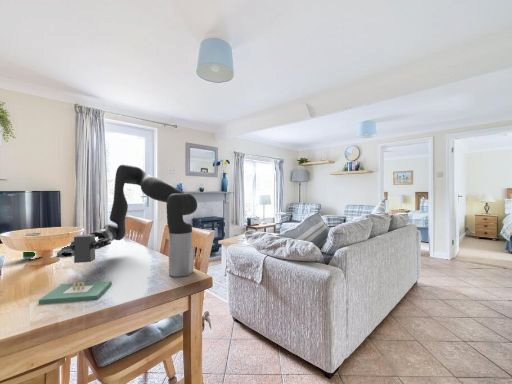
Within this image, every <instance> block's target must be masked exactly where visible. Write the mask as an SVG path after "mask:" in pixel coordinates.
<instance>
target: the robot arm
mask: <svg viewBox="0 0 512 384" xmlns="http://www.w3.org/2000/svg"><path fill="white" fill-rule="evenodd" d="M125 184H130V185H136V186H140V189H141V192H142V193H143V194H144V195H146V196H147V197H149V198H150V199H153V201H154V200H155V201H157V202H158V201H159V202H162V203H166V205H165V206H166V222H167V223H166V224H167V227H168V275H169V276H170V277H176V278H179V277H180V278H181V277H185V276H187V277H189V276H190V275H191V274H192V273H193V272H194V256H195V255H194V248H193V226H192V224H191V223H187V222H186V221H184V216H188V215H191V214H193V213H195V212H196V210H197V209H198V202H197V199H196V197H195V196H194V195H193V194H191V193H188V192H185V191H183V190H180V189H177V188H175V187H174V186H172V185H170V184H168V183H167V182H164V181H163V180H161V179H159V178H157V177H155V176H153V175H150V174H148V173H147V172H146V171H144V170H143V169H142V168H141V167H139V166H136V165H135V166H134V165H129V164H120V165H118V167H117V169H116V172H115V178H114V189H113V190H114V191H113V202H112V207H111V211H110V215H109V220H110V221H111V222H112V223H113V224H106V225H104V226H103V228H102V229H98V230H96V231H93V232H91V233H90V234H89V235H94V234H95V242H93V243H91V244H90V245H89V246H90V249H94V248H95V250H99V249H101V248H104V247H106V246H109V245H111V244H112V242H113V241H114V240H115V241H121V240H123V239H124V237H125V236H126V217H127V213H128V209H129V205H128V201H127V199H126V195H125V192H124V187H125ZM70 245H71V249H72V250H74V240H72V241H71V242H70Z"/></svg>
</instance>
